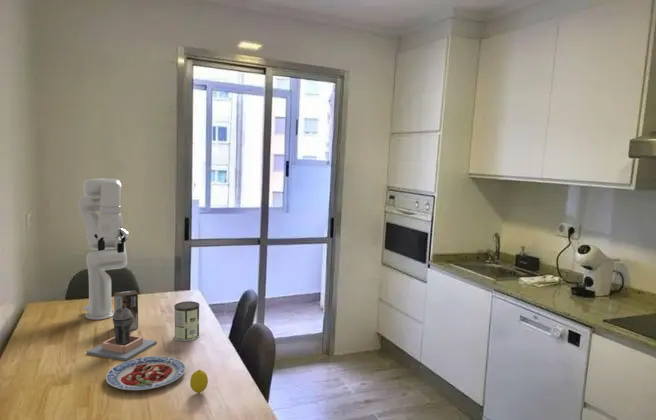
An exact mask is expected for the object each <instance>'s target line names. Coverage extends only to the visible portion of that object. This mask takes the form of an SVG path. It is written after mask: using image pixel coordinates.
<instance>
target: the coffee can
mask: <svg viewBox="0 0 656 420" xmlns="http://www.w3.org/2000/svg"><path fill="white" fill-rule="evenodd" d="M173 308H174V339H175V340H176V341H180V342H188V341H189V342H190V341H195V340H197V339H198V338H200V303H199V302H197V301H192V300H191V301H182V302H178V303H175V304H174V306H173Z"/></svg>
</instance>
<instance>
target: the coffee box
mask: <svg viewBox="0 0 656 420" xmlns="http://www.w3.org/2000/svg"><path fill="white" fill-rule="evenodd" d="M120 298H121V300H122V307H125V308H128V309H129V310H130V311H131V313H132V321H131V327H130V331H131V330H138V329H139V294H138V292H137V291H136V290H135V289H134V290H126V291H117V292H114V293H113V305H114V307H113V308H114V310H113V311H114V312H115V311H116V310H117V309H119V308H121V305H120Z"/></svg>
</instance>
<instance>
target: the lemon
mask: <svg viewBox="0 0 656 420" xmlns="http://www.w3.org/2000/svg"><path fill="white" fill-rule="evenodd" d="M208 382H209V379H208V375H207V372H205V370H202V369H198V370H196V371H193V373H192V374H191V377H190V380H189V383H190V388H191V390H192V391H193V392H194V393H197V394H200V393H202V392H204V391H205V390H206V389H207V387H208Z"/></svg>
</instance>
